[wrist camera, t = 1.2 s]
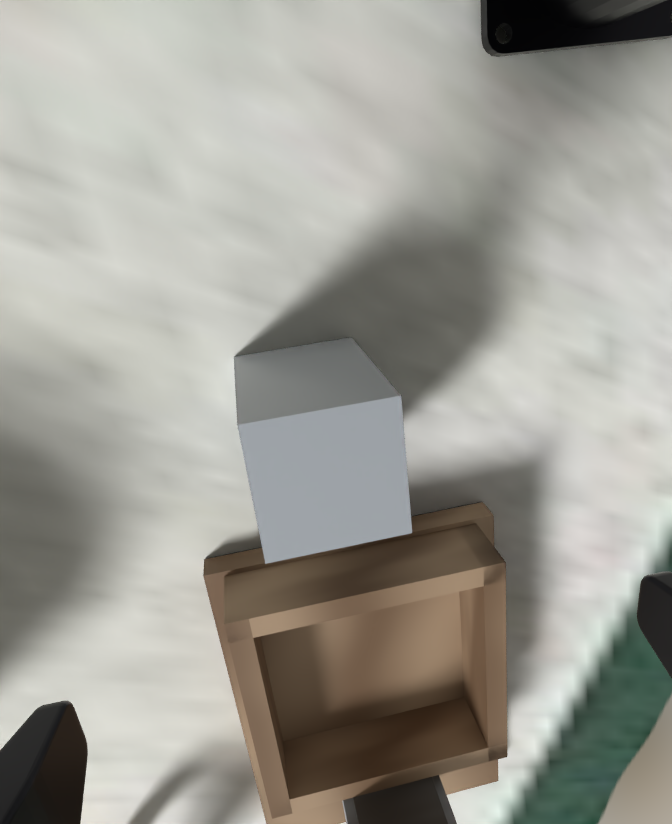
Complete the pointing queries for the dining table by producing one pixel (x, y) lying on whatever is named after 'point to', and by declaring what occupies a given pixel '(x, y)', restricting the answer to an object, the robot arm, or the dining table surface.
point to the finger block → (321, 448)
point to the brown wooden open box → (369, 671)
